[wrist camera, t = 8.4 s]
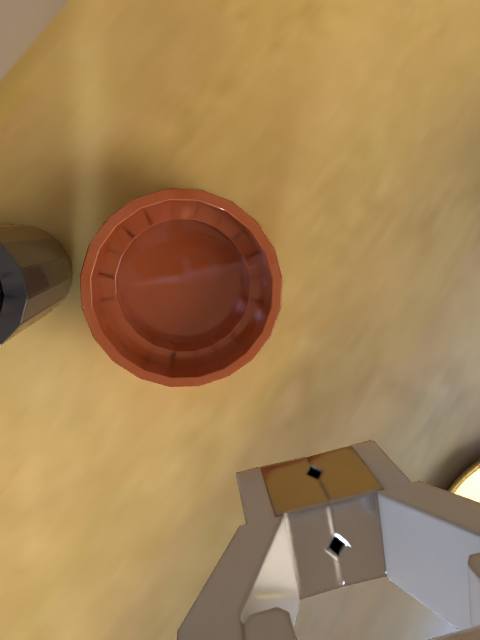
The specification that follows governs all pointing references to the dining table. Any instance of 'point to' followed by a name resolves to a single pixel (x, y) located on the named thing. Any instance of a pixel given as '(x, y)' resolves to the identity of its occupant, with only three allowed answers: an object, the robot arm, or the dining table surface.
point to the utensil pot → (30, 277)
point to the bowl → (181, 287)
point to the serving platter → (468, 483)
